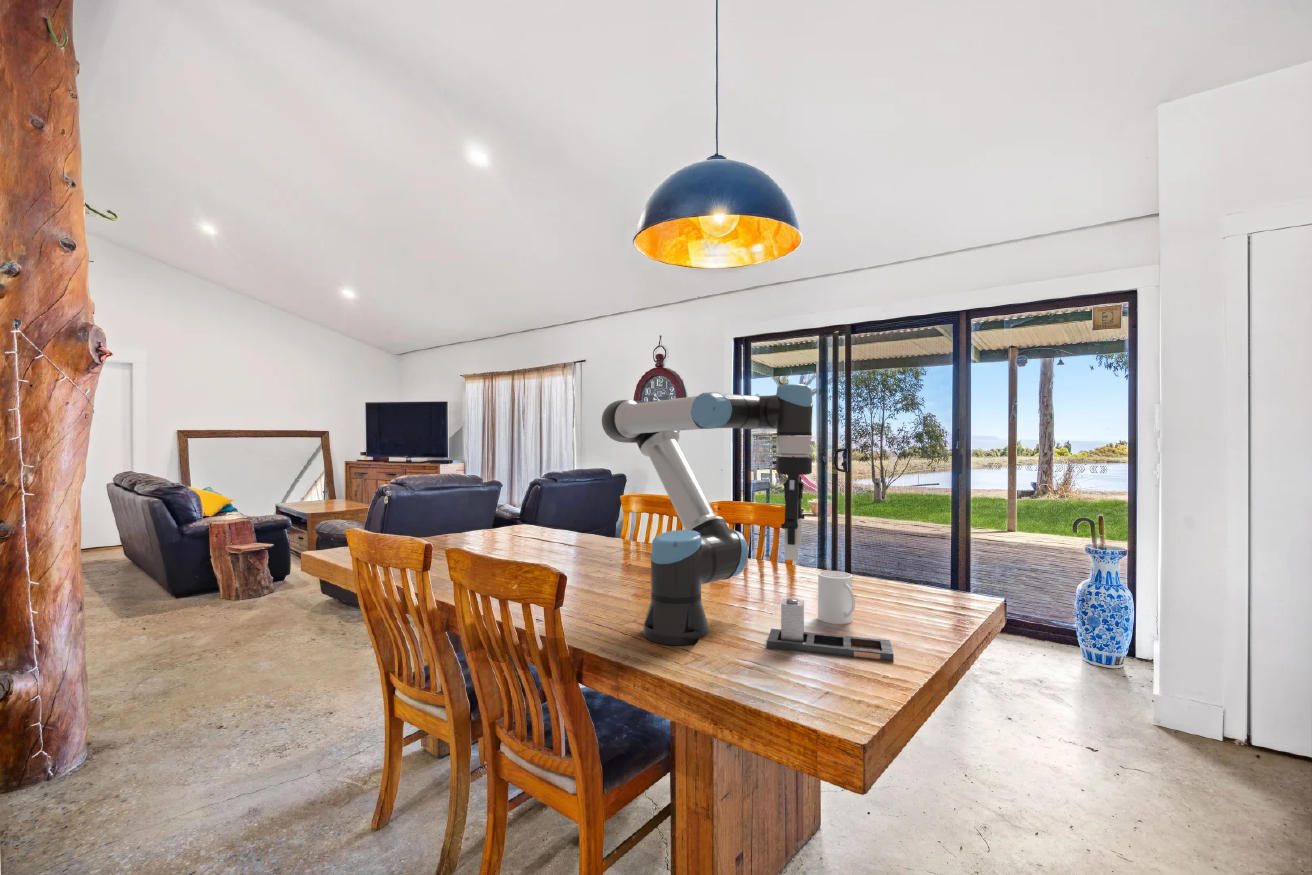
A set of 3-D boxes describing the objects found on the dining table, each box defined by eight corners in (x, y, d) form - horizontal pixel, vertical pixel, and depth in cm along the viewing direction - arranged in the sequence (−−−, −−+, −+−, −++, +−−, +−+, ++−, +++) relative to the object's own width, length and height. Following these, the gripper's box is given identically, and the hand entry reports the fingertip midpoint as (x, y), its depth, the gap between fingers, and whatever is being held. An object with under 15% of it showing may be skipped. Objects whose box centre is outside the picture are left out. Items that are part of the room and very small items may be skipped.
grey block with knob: (781, 646, 125) (781, 601, 125) (782, 639, 129) (783, 596, 129) (802, 648, 124) (802, 603, 124) (803, 641, 128) (803, 598, 128)
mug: (867, 631, 138) (867, 580, 138) (834, 633, 136) (834, 582, 136) (841, 616, 150) (841, 569, 150) (811, 618, 148) (811, 571, 148)
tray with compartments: (767, 652, 124) (767, 641, 124) (771, 639, 132) (771, 628, 132) (893, 666, 117) (893, 654, 117) (889, 651, 125) (889, 640, 125)
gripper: (810, 458, 114) (809, 566, 114) (813, 454, 138) (812, 544, 138) (770, 457, 116) (770, 564, 116) (781, 453, 140) (780, 542, 140)
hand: (793, 553), depth 127 cm, fingers open, 13 cm apart
